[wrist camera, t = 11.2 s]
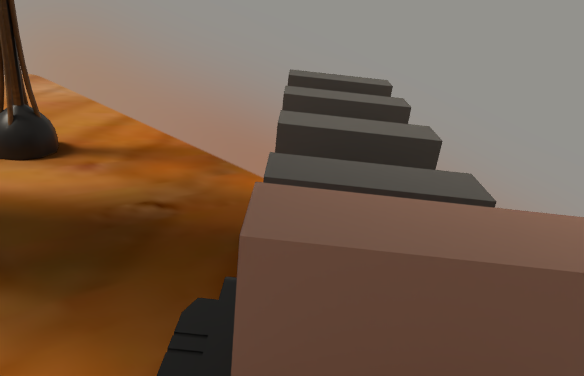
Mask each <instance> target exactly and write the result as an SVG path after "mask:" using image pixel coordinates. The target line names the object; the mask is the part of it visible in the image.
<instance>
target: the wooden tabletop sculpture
mask: <svg viewBox="0 0 584 376" xmlns="http://www.w3.org/2000/svg"><path fill="white" fill-rule="evenodd" d="M18 57H19V58H18ZM19 62H20V64H19ZM20 66H21V69H20ZM21 70H22V74H23V78H24V82H25V85H26V89H27V93H28V96H29V99H30V102H31V105H32V108H31V107H29V105H28V101H27V97H26V93H25V88H24V84H23V79H22V74H21ZM4 74H5V85H6V96H7V108H6V109H5V110H3V107H4ZM58 146H59V144H58V137H57V134H56V131H55V128H54V127H53V125H52V123H51V122H50V120H48V119H47V118H46V117H45V116H44V115H43V114H42V113H40V112H39V110H38V107H37V104H36V101H35V98H34V95H33V92H32V88H31V84H30V80H29V76H28V72H27V69H26V65H25V60H24V55H23V50H22V45H21V40H20V35H19V29H18V23H17V16H16V10H15V4H14V0H0V159H11V160H25V159H34V158H42V157H45V156H47V155H50V154H52V153H55V152H57V149H58Z"/></svg>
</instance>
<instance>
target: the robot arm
mask: <svg viewBox="0 0 584 376" xmlns="http://www.w3.org/2000/svg"><path fill="white" fill-rule="evenodd" d="M236 285H237V278H235V277H225V280H224V283H223V287H222V290H221V293H220V297H219V300H216V299H206V298H197V299H196V300H195V301H194V302H193V303H192V304H191V305H190V306H188V307H187V308H186V309H185V310H184V311H183V312H182V314H181V316H180V319H179V321H178V324H177V326H176V329H175V331H174V336H172V339H171V341H170V344H169V346H168V350H167V352H166V354H165V356H164V359H163V361H162V364H161V366H160V369H159V371H158V374H157V376H231V366H232V350H233V334H234V318H235V302H236Z"/></svg>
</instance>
